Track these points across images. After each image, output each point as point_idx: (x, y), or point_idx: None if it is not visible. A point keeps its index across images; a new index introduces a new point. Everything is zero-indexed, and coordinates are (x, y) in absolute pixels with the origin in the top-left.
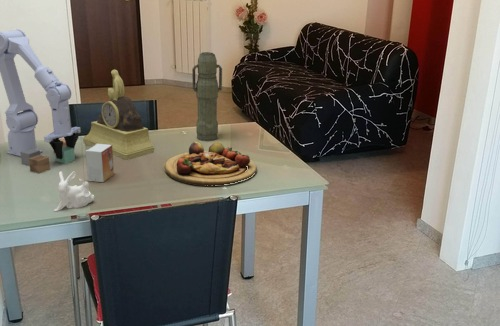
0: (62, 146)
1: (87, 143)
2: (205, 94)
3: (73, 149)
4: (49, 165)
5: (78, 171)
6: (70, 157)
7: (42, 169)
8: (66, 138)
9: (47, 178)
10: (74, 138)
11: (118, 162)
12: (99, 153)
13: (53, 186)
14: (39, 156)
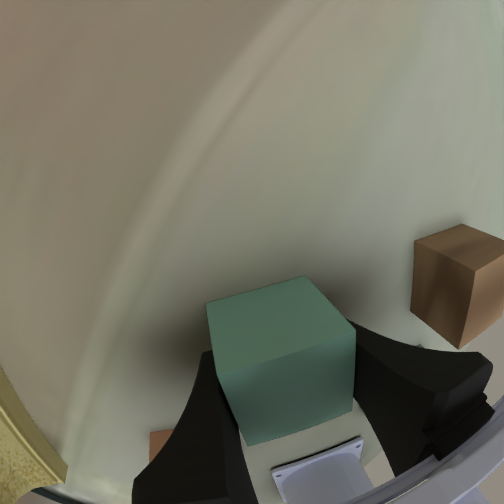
0: None
1: (51, 451)
2: None
3: (221, 364)
4: (435, 247)
5: (329, 55)
6: (256, 310)
7: (461, 232)
8: (254, 501)
9: (472, 129)
10: (217, 478)
11: (5, 42)
12: None
13: (478, 40)
14: (478, 319)
